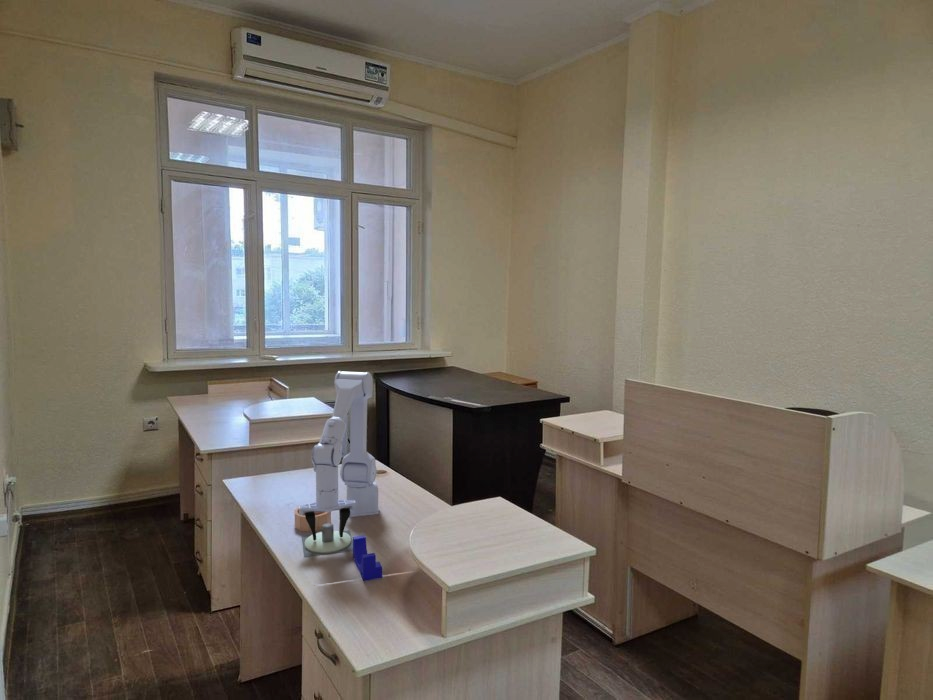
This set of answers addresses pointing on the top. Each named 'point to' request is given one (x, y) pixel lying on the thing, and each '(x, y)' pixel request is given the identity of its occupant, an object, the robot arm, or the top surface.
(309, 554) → the mat
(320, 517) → the bowl
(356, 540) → the blue stepped bracket
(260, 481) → the top surface
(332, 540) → the lid
